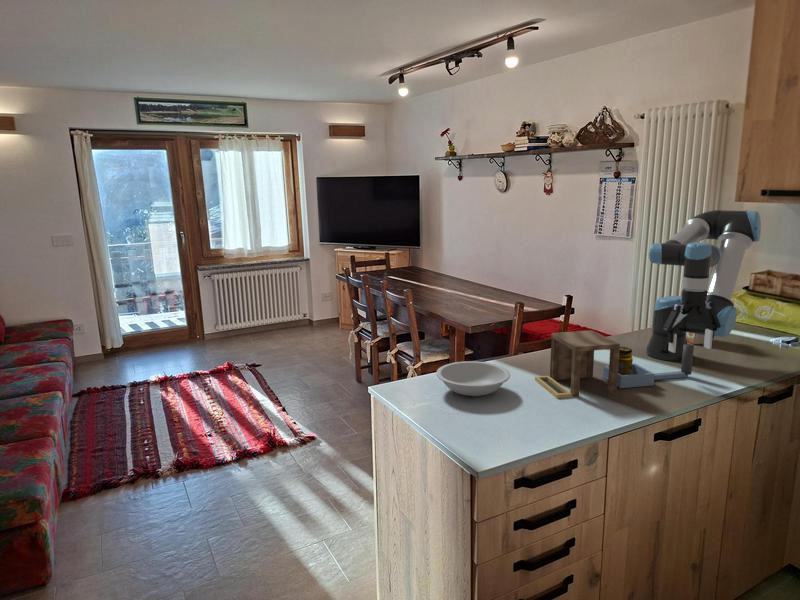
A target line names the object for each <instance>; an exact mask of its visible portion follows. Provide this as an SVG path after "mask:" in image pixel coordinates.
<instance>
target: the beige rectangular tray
mask: <svg viewBox="0 0 800 600" xmlns="http://www.w3.org/2000/svg"><path fill="white" fill-rule="evenodd" d="M534 381H535V382H537V383H538V384H539V385H540V386H541V387H542V388H543V389H545V390H546V391H547V392H548V393H550V394H551V395H552V396H553V397H554V398H555V399H566V398H567V397H568V398H573V397H572V393H570V390H569V389H566V388H565V387H564V386H562V385H561V384H560V383H559V382H558V381H557V380H556V381H555V380H554V379H552V378H551V377H550V375H542V376H541V375H539V376H538V375H537V376H534Z"/></svg>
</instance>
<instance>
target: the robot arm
mask: <svg viewBox="0 0 800 600" xmlns="http://www.w3.org/2000/svg"><path fill="white" fill-rule="evenodd" d="M761 228H762V226H761V215H760V213H759V212H758V211H756V210H748V209H747V210H746V209H745V210H724V209H722V210H721V209H715V210H708V211H704V212H702V213H699V214H697V215H694V216H693V217H691V218H690V219H688V220H687V221H685V223H684V225H683V228H681V229H680V230H679V231H678V232H677V233H675V234H674V235H672V236H671V237H670V238H669V239H668V240H666V241H665V242H664V243H662V242H655V243H654V242H653V243H652V244H651V246H650V247H649V251H648V259H649V262H650V263H652V264H656V265H657V264H658V265H668V266H678V267H679V266H680V267H681V266H683V278H682V288H683V289H681V292H682V296H681V295H668V296H663V297H662V296H661V297H658V298H657V299H656V300H655V301H654V309H653V322H652V323H653V324H652V334H651V336H650V339H649V342H648V344H647V346H646V350H645V351H646V352H645V354H646V355H647V356H649V357H651V358H653V359H658V360H664V361H671V362H677V361H679V362H680V361H681V362H682V355H683V345H684V344H688V341H687V340H686V332H690V333H696V334H702V335H705V338H704V344H703V347H704V348H705V349H707V350H712V344H713V343H712V342H713V339H714V338H715V337H717V338H725V337H727V336H729V335H730V333H731V332H732V330H733V328H734V327H735V324H736V322H737V321H736V319H737V316H738V310H737V307H735V304H734V302H733V300H732V297H733V293H734V290H735V287H736V283H737V280H738V277H739V273H740V270H741V267H742V264H743V260H744V257H745V253H746V250H748V249H750V248H751V247H752V246H753V243H756V242H759V240H760V239H761V233H762V232H761V230H762V229H761ZM704 240H715V241H716V240H717V242H718V244H719V246H717V245H715V244H710V243H708V242H702V241H704ZM710 268H712V271H711V274H710V270H711V269H710Z"/></svg>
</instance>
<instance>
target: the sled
mask: <svg viewBox="0 0 800 600" xmlns="http://www.w3.org/2000/svg"><path fill="white" fill-rule="evenodd" d="M694 345H695V344H691V343H690V344H689V343H687V344H684V345H683V355H682V361H681V367H680V371H668V372H666V371H665V372H655V373H653V372H652V371H650V370H648V369H647V368H644V367H643V366H640V365H639V364H637V363H632V375H621V374H619V373H618V381H617V388H619V389H625V388H626V389H627V388H637V387H639V388H641V387H647V386H648V387H650V386H654V384H655V381H656V380H657V381H658V380H669V379H679V378H688V377H689V376H690V375H692V373H693V372H692V371H693V361H694V360H693V359H694V352H695V350H694V349H695V346H694ZM608 377H609V365H603V366H602V378H604V379H605V380H606V381H607V380H608Z"/></svg>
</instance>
